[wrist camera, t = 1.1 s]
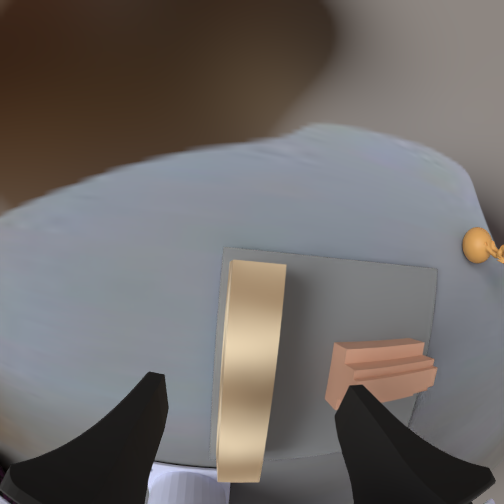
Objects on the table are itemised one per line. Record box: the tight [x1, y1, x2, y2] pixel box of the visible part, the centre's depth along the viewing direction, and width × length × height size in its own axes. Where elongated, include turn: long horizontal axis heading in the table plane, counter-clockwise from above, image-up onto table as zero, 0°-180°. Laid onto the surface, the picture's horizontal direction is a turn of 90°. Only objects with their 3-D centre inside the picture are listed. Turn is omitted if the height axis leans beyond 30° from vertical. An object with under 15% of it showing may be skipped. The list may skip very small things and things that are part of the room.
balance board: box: [210, 247, 437, 461], centre depth 18 cm, size 18×20×6 cm
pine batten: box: [216, 260, 286, 482], centre depth 16 cm, size 16×3×4 cm, turn 175°
